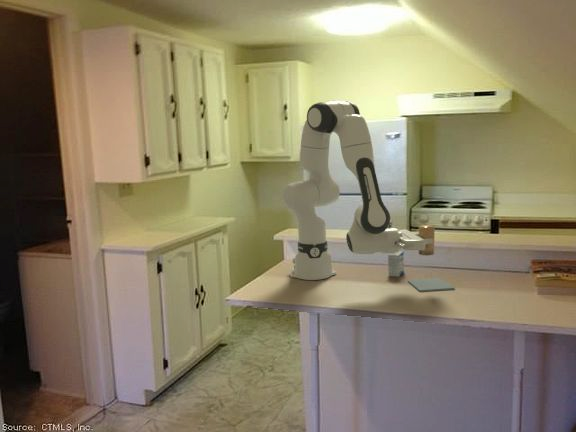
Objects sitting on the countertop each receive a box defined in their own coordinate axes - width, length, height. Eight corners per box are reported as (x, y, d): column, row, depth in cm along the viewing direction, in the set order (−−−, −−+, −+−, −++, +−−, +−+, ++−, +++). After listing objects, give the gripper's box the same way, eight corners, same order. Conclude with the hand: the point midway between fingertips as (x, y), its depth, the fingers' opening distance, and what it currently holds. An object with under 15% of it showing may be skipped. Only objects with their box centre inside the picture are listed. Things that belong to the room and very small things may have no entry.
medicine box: (399, 277, 206) (399, 255, 205) (388, 276, 208) (388, 254, 207) (403, 271, 213) (403, 251, 212) (393, 271, 215) (393, 250, 214)
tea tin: (416, 252, 193) (416, 225, 191) (431, 251, 193) (431, 224, 192) (421, 255, 187) (421, 228, 186) (436, 254, 188) (436, 227, 186)
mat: (407, 281, 200) (407, 280, 200) (440, 279, 201) (440, 277, 201) (419, 291, 187) (419, 290, 187) (454, 289, 188) (454, 287, 188)
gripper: (400, 237, 178) (439, 235, 179) (384, 227, 198) (419, 225, 199) (400, 255, 179) (439, 253, 180) (384, 243, 199) (419, 241, 200)
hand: (428, 238), depth 190 cm, fingers closed on tea tin, 5 cm apart
